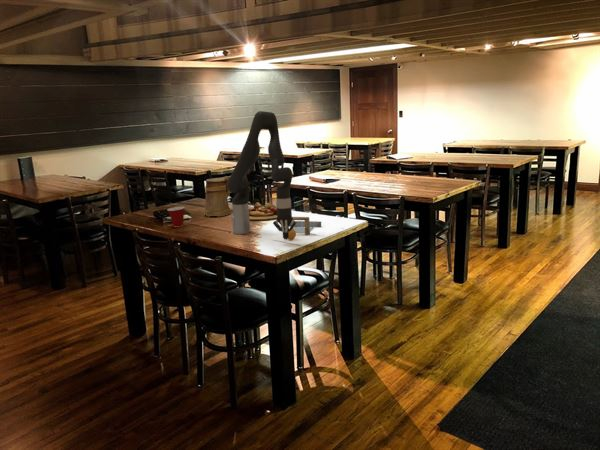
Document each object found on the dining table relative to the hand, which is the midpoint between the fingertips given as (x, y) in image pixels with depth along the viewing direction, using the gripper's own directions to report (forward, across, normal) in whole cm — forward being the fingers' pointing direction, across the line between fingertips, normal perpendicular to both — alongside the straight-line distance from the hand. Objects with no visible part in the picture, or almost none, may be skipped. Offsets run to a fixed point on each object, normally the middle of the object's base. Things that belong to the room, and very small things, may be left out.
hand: (285, 238), depth 261 cm
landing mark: (+3, 0, -30) cm, 30 cm away
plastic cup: (+2, +81, -33) cm, 88 cm away
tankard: (+2, +69, -70) cm, 98 cm away
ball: (0, 0, -10) cm, 10 cm away
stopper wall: (+3, 0, -38) cm, 39 cm away
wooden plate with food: (+3, +36, -65) cm, 75 cm away
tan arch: (+3, 0, -20) cm, 21 cm away
